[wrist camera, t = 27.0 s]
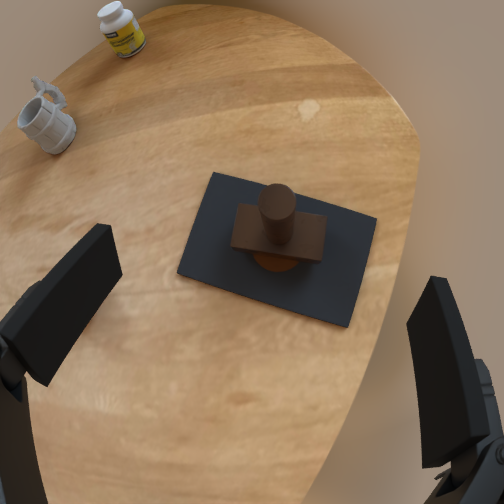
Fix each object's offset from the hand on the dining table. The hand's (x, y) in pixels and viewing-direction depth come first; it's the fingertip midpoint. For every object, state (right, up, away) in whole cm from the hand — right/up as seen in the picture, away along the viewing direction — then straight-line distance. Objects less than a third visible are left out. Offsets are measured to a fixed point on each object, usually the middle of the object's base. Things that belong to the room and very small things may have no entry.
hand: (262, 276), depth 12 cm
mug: (-35, +24, +34) cm, 54 cm away
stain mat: (+3, +2, +26) cm, 26 cm away
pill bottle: (-24, +41, +36) cm, 59 cm away
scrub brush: (+3, +3, +26) cm, 26 cm away
